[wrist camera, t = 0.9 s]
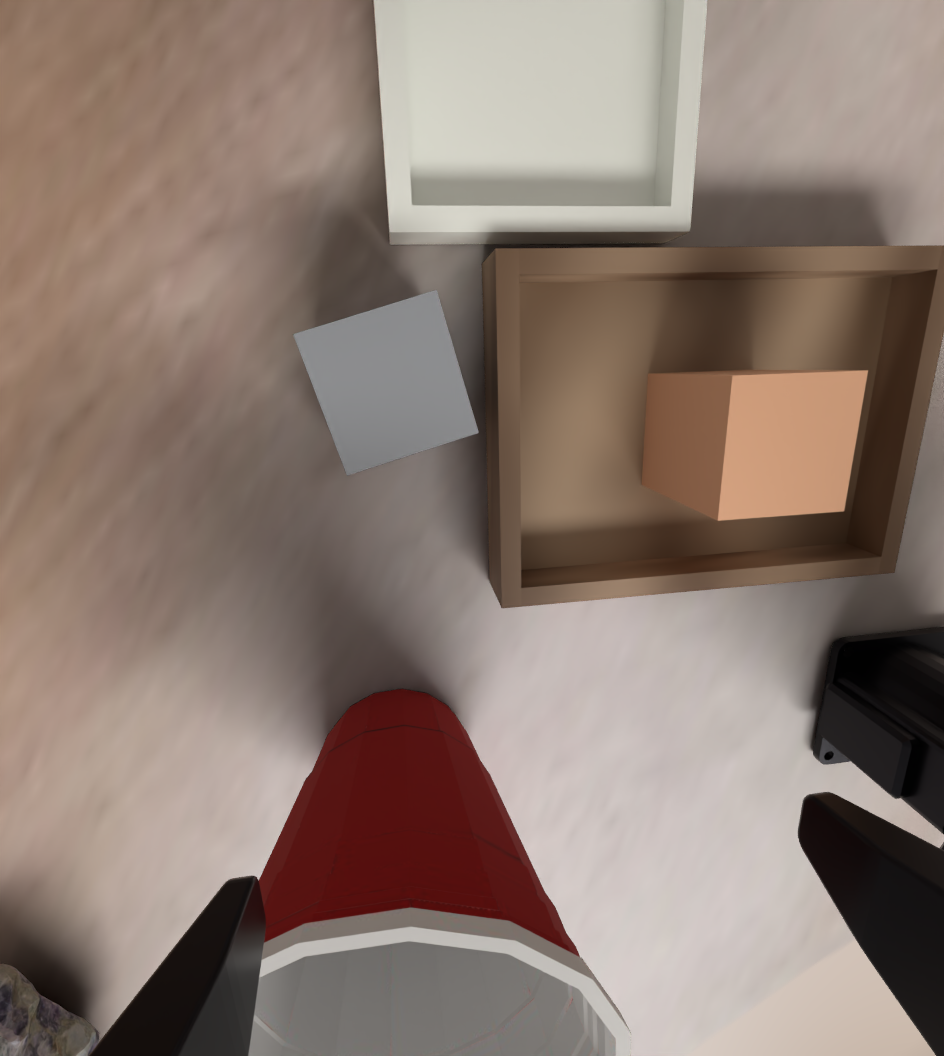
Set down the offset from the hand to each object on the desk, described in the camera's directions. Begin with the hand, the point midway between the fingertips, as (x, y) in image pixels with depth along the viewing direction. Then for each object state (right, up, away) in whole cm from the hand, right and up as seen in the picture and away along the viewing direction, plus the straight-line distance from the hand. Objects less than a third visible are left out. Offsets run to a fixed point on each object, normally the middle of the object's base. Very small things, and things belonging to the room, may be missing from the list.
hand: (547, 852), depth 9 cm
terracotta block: (+7, +9, +11) cm, 16 cm away
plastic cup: (-5, -4, +15) cm, 16 cm away
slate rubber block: (-4, +10, +10) cm, 15 cm away
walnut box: (+7, +9, +12) cm, 17 cm away
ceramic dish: (+1, +19, +8) cm, 21 cm away
